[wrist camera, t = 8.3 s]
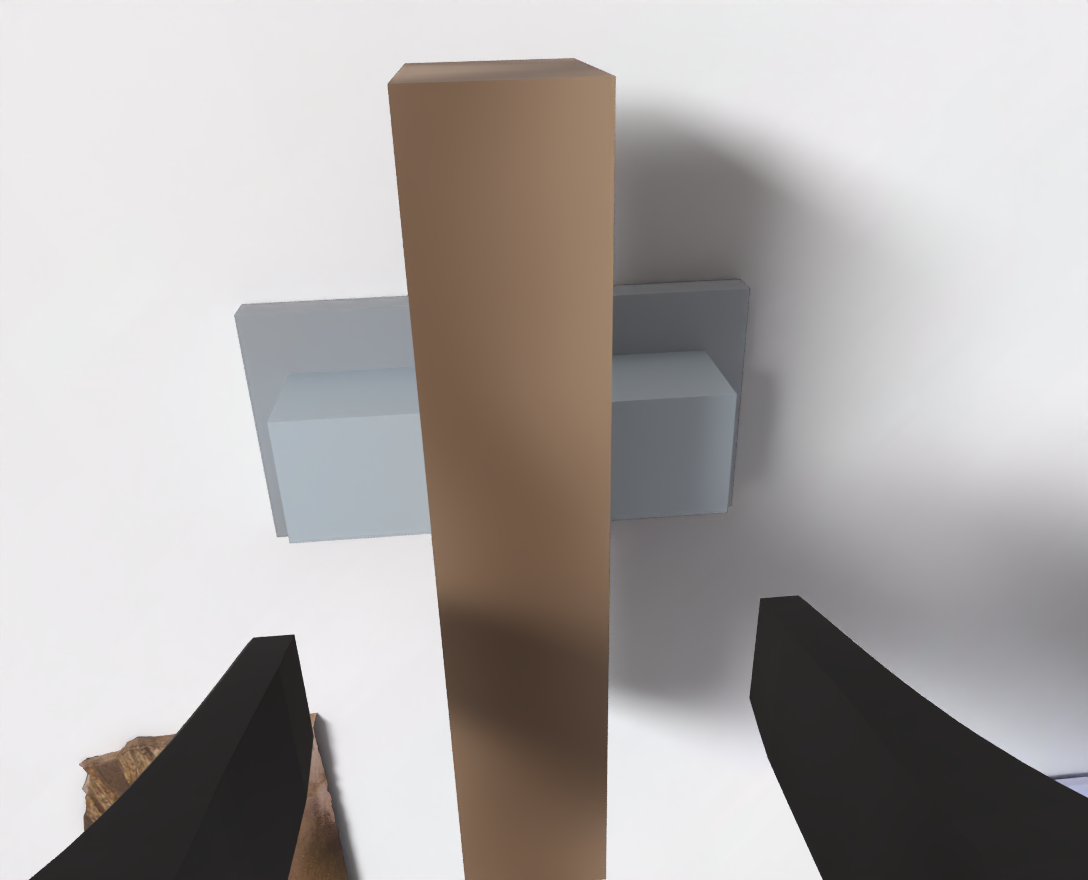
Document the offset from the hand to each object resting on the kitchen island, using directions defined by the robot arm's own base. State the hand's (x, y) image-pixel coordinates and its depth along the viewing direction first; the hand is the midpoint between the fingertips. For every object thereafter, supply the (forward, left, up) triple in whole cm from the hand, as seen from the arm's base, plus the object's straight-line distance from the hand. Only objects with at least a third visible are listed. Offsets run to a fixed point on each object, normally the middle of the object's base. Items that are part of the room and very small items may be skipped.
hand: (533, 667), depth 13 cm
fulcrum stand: (0, 0, -10) cm, 10 cm away
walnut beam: (0, 0, -6) cm, 6 cm away
